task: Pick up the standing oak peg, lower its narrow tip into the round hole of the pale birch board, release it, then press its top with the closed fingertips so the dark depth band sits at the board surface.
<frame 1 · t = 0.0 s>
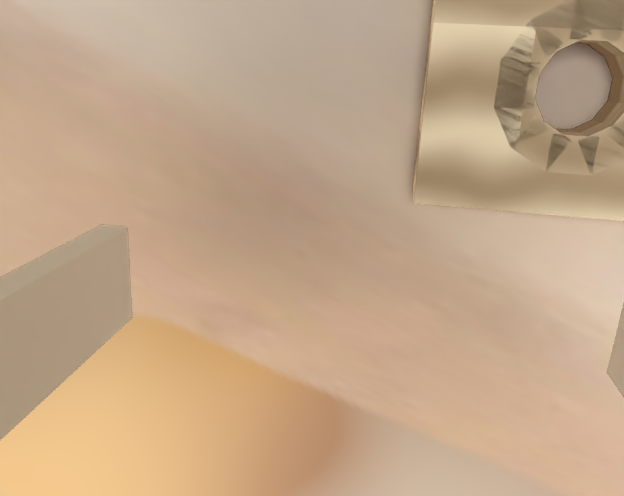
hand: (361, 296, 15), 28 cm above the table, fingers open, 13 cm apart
board: (566, 87, 38), on the table
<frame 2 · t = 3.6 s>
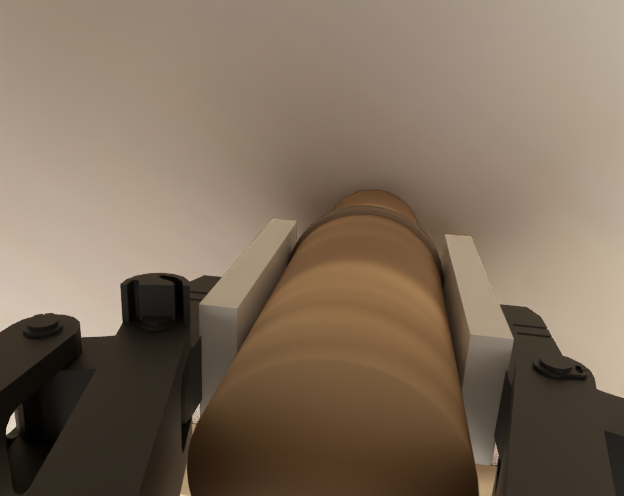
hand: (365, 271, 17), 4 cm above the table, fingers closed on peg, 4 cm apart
peg: (371, 236, 20), on the table, touching gripper
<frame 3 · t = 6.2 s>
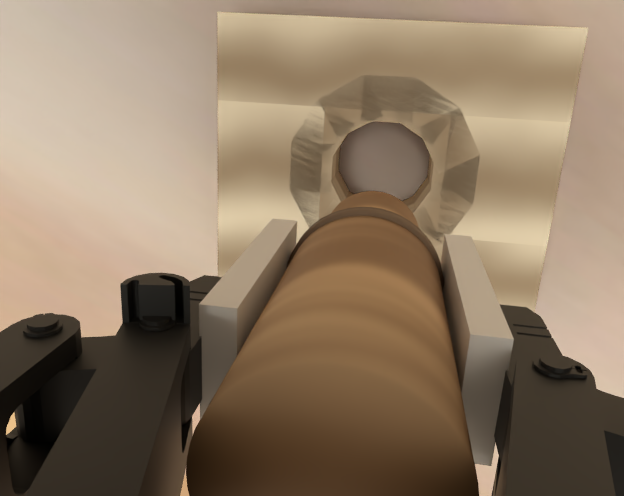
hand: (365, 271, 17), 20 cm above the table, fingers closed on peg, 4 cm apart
peg: (371, 237, 20), point 16 cm above the table, touching gripper
board: (383, 161, 35), on the table
when the fingers open (5 cm above the table, at t = 8.7 s): peg stays where it is, resting in board.
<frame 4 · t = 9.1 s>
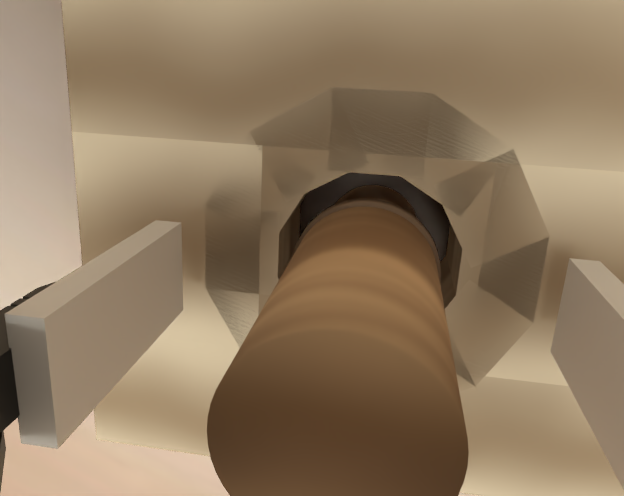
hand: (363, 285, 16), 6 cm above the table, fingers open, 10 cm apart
peg: (372, 229, 21), resting in board
board: (373, 229, 21), on the table
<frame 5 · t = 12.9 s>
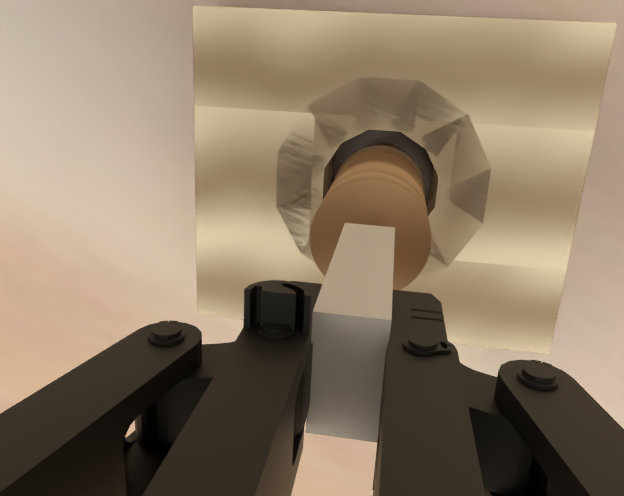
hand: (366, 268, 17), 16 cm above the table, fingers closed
peg: (381, 173, 32), resting in board
board: (381, 173, 32), on the table
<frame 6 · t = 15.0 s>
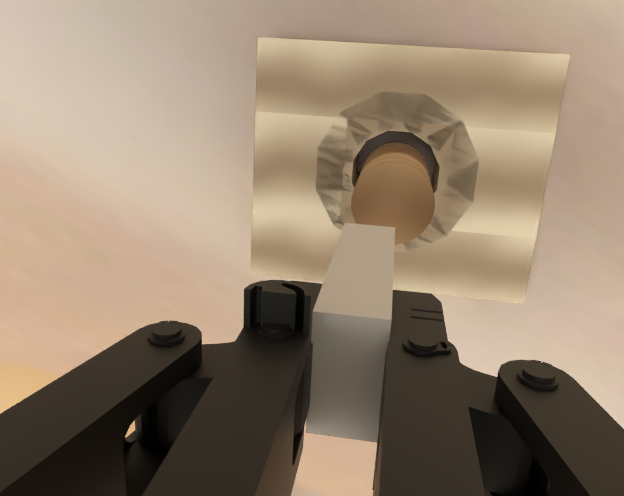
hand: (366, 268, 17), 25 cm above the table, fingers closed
peg: (395, 165, 41), resting in board
board: (395, 165, 41), on the table
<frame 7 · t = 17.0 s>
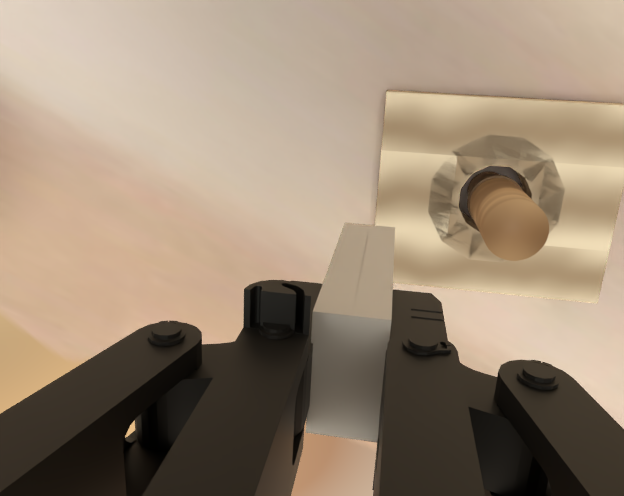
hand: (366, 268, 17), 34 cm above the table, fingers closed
peg: (487, 190, 50), resting in board
board: (487, 190, 50), on the table
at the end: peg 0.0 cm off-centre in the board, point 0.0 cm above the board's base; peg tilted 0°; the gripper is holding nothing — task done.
